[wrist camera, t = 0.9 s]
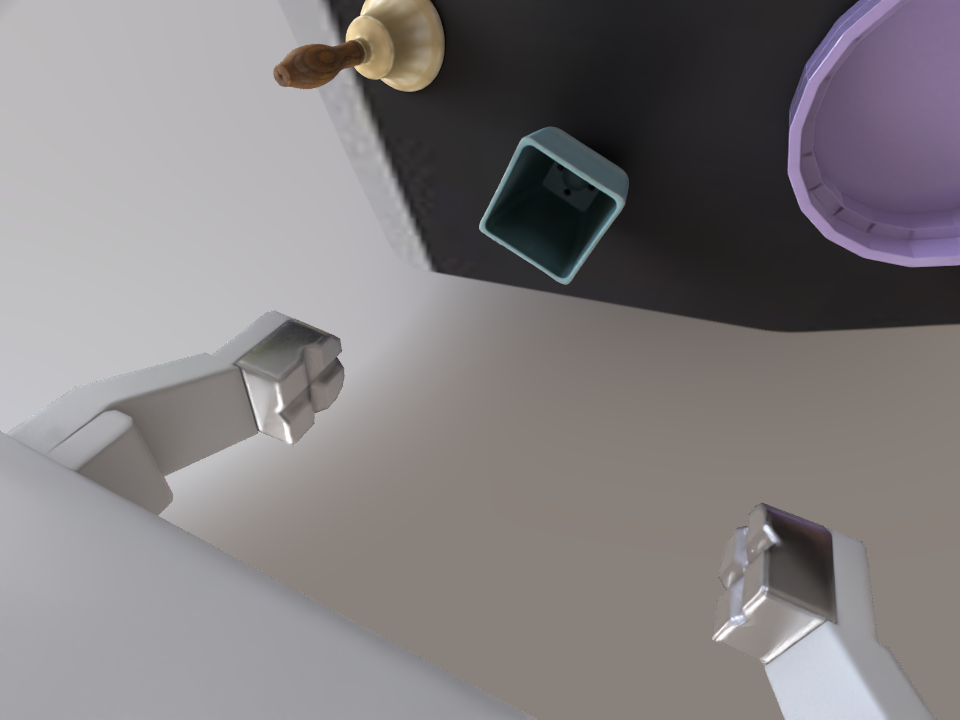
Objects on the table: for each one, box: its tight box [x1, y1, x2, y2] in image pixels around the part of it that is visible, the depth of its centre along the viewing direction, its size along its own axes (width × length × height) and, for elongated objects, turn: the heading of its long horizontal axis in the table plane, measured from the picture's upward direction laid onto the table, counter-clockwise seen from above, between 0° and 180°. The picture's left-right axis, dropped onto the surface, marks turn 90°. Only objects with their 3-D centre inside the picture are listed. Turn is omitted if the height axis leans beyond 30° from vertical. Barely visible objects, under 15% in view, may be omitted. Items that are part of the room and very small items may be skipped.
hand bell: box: [273, 0, 445, 92], centre depth 41 cm, size 8×8×16 cm
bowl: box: [788, 0, 960, 267], centre depth 32 cm, size 17×17×6 cm
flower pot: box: [479, 127, 629, 285], centre depth 44 cm, size 9×9×9 cm
